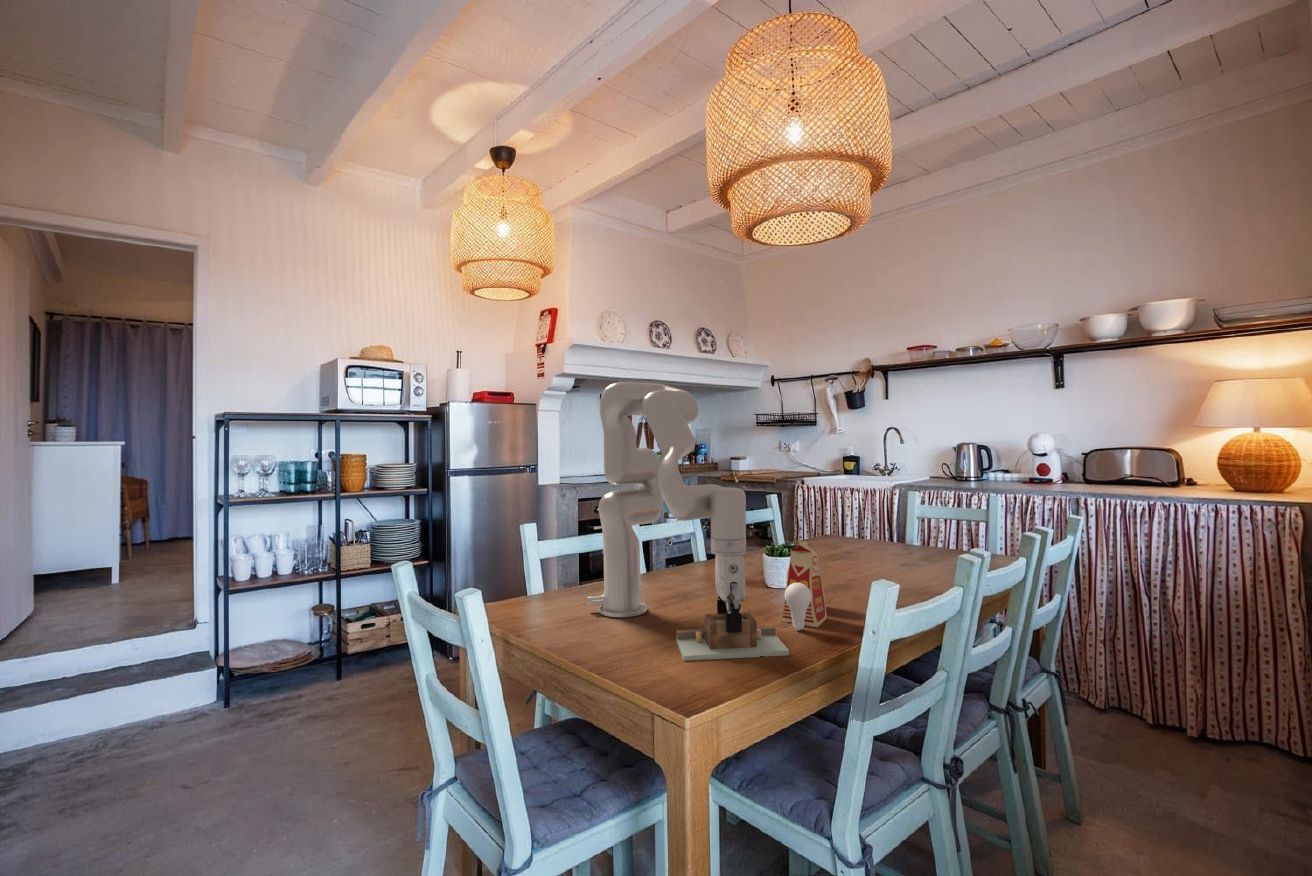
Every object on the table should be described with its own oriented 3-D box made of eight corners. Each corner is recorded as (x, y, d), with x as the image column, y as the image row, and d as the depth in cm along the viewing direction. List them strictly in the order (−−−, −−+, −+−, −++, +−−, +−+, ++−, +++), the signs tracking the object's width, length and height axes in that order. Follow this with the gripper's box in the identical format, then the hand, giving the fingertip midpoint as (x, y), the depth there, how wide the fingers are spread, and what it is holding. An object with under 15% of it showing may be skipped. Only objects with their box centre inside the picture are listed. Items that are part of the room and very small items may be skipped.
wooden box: (709, 649, 130) (709, 623, 130) (705, 639, 137) (704, 614, 137) (757, 647, 131) (756, 621, 131) (749, 637, 138) (749, 612, 138)
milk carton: (816, 627, 147) (815, 542, 147) (779, 621, 152) (778, 539, 152) (828, 617, 155) (826, 536, 155) (792, 612, 160) (791, 534, 159)
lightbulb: (794, 624, 149) (793, 578, 149) (817, 630, 145) (816, 582, 145) (779, 630, 145) (779, 583, 145) (802, 636, 141) (802, 587, 141)
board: (683, 660, 127) (683, 646, 127) (676, 641, 139) (676, 627, 139) (789, 655, 129) (789, 640, 129) (773, 636, 141) (773, 623, 141)
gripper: (755, 553, 126) (756, 637, 126) (736, 537, 143) (737, 612, 143) (718, 554, 125) (719, 639, 125) (704, 538, 142) (705, 613, 142)
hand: (729, 624), depth 134 cm, fingers open, 9 cm apart
